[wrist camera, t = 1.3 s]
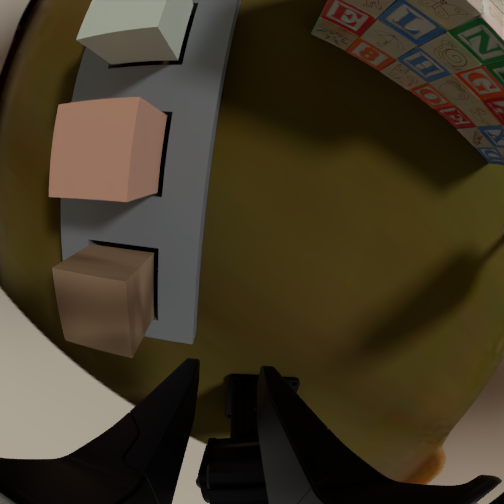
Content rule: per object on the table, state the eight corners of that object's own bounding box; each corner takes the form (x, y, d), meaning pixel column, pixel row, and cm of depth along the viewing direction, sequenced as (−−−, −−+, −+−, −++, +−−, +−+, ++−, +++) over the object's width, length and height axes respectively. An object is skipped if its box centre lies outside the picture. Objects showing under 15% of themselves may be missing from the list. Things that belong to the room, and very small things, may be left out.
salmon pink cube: (157, 192, 16) (126, 202, 12) (91, 188, 16) (48, 196, 11) (167, 115, 15) (140, 96, 10) (99, 116, 15) (58, 104, 10)
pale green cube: (178, 60, 14) (157, 26, 9) (111, 64, 13) (76, 40, 9) (193, 5, 12) (181, -35, 8) (128, 10, 12) (103, -22, 7)
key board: (196, 330, 22) (192, 344, 20) (81, 308, 21) (70, 319, 19) (240, 2, 14) (240, -11, 12) (112, 9, 13) (104, -1, 11)
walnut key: (153, 317, 19) (132, 358, 14) (95, 305, 19) (64, 340, 14) (153, 252, 18) (125, 281, 13) (91, 244, 17) (52, 267, 12)
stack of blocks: (497, 117, 17) (581, 118, 5) (488, 164, 18) (581, 180, 7) (329, -10, 14) (383, -95, 2) (307, 34, 15) (366, -66, 4)
